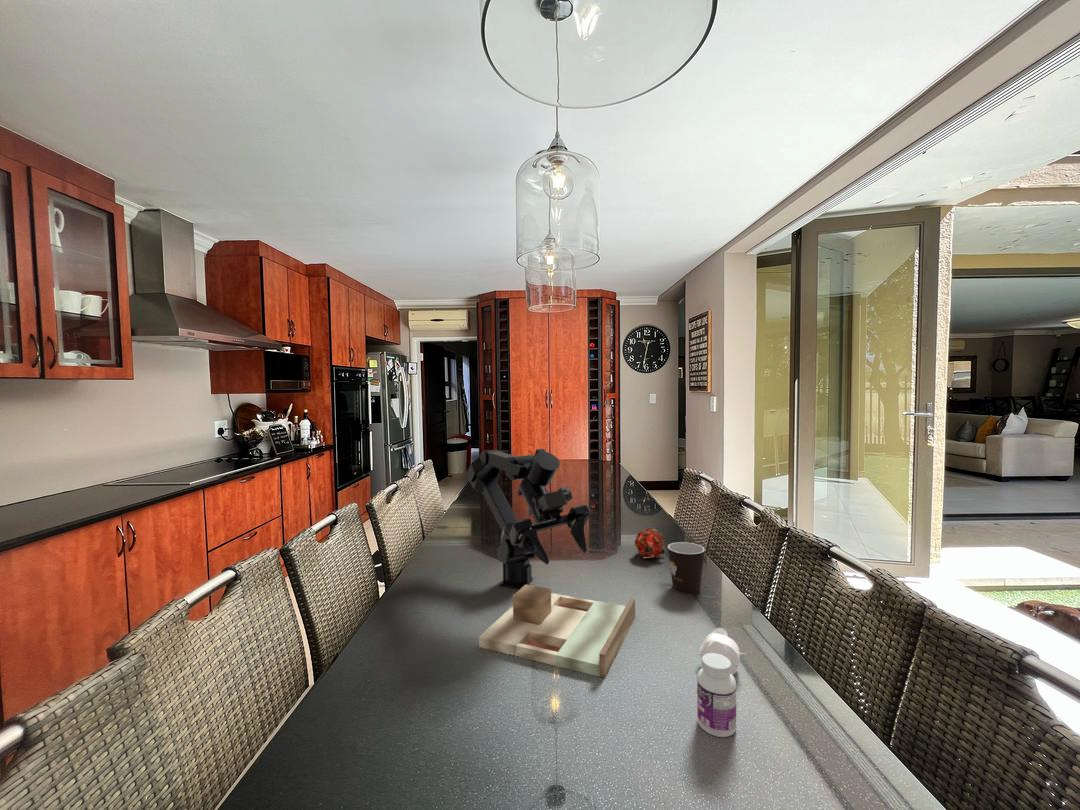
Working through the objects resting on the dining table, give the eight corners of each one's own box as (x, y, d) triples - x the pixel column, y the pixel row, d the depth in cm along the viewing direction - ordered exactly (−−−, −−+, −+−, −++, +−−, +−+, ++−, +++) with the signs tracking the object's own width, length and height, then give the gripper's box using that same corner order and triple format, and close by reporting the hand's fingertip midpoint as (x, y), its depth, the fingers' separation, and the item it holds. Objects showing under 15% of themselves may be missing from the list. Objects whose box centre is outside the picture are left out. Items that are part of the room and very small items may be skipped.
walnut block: (513, 619, 96) (512, 595, 95) (526, 607, 101) (525, 584, 101) (539, 625, 93) (539, 600, 93) (551, 611, 99) (551, 588, 98)
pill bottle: (691, 713, 70) (690, 650, 70) (725, 711, 70) (724, 648, 70) (707, 740, 64) (706, 672, 64) (743, 737, 65) (743, 670, 65)
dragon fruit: (654, 554, 142) (651, 574, 131) (630, 537, 143) (626, 556, 132) (670, 534, 139) (669, 553, 128) (647, 517, 141) (643, 534, 129)
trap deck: (479, 647, 89) (478, 626, 89) (530, 597, 110) (530, 580, 110) (605, 678, 79) (604, 654, 79) (635, 616, 100) (635, 598, 100)
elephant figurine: (700, 653, 86) (699, 621, 86) (747, 663, 82) (747, 630, 82) (695, 673, 80) (695, 639, 80) (746, 685, 76) (746, 650, 76)
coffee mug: (707, 597, 109) (707, 555, 108) (669, 594, 110) (668, 553, 110) (700, 577, 120) (700, 539, 120) (666, 575, 122) (665, 537, 122)
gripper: (507, 485, 99) (535, 548, 89) (581, 469, 107) (615, 526, 97) (498, 515, 106) (524, 577, 96) (569, 498, 114) (599, 553, 104)
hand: (567, 557), depth 98 cm, fingers open, 9 cm apart
